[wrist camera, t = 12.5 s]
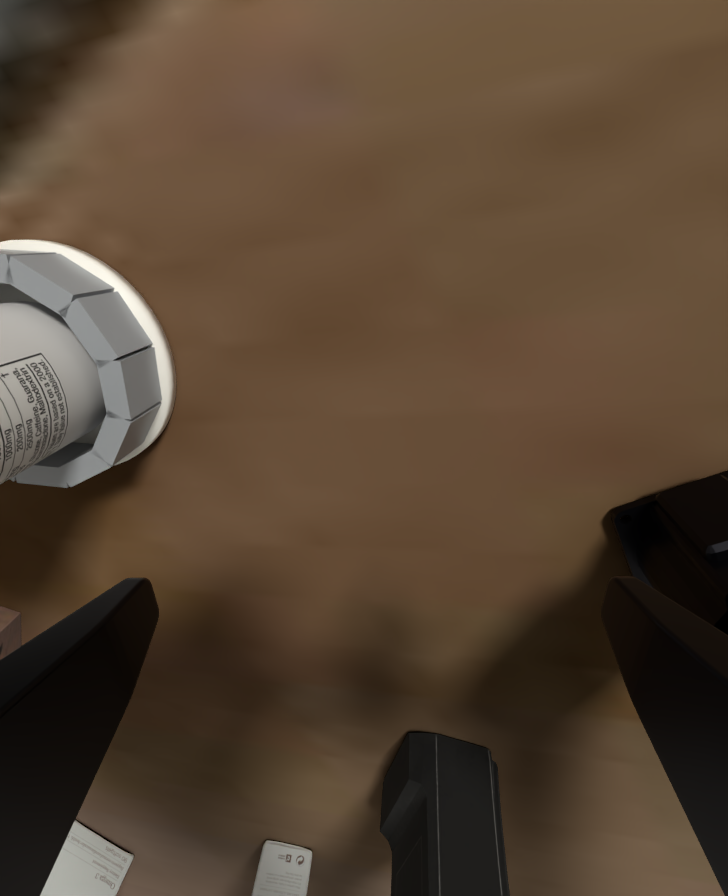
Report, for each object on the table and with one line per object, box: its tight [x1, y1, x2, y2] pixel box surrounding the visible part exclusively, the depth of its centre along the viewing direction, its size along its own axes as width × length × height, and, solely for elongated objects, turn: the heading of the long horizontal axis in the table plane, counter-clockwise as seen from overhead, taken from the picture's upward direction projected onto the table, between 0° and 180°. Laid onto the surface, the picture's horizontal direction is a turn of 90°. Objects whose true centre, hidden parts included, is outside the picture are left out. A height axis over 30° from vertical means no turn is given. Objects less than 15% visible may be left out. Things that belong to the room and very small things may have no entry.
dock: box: [0, 240, 177, 488], centre depth 20 cm, size 10×10×3 cm
